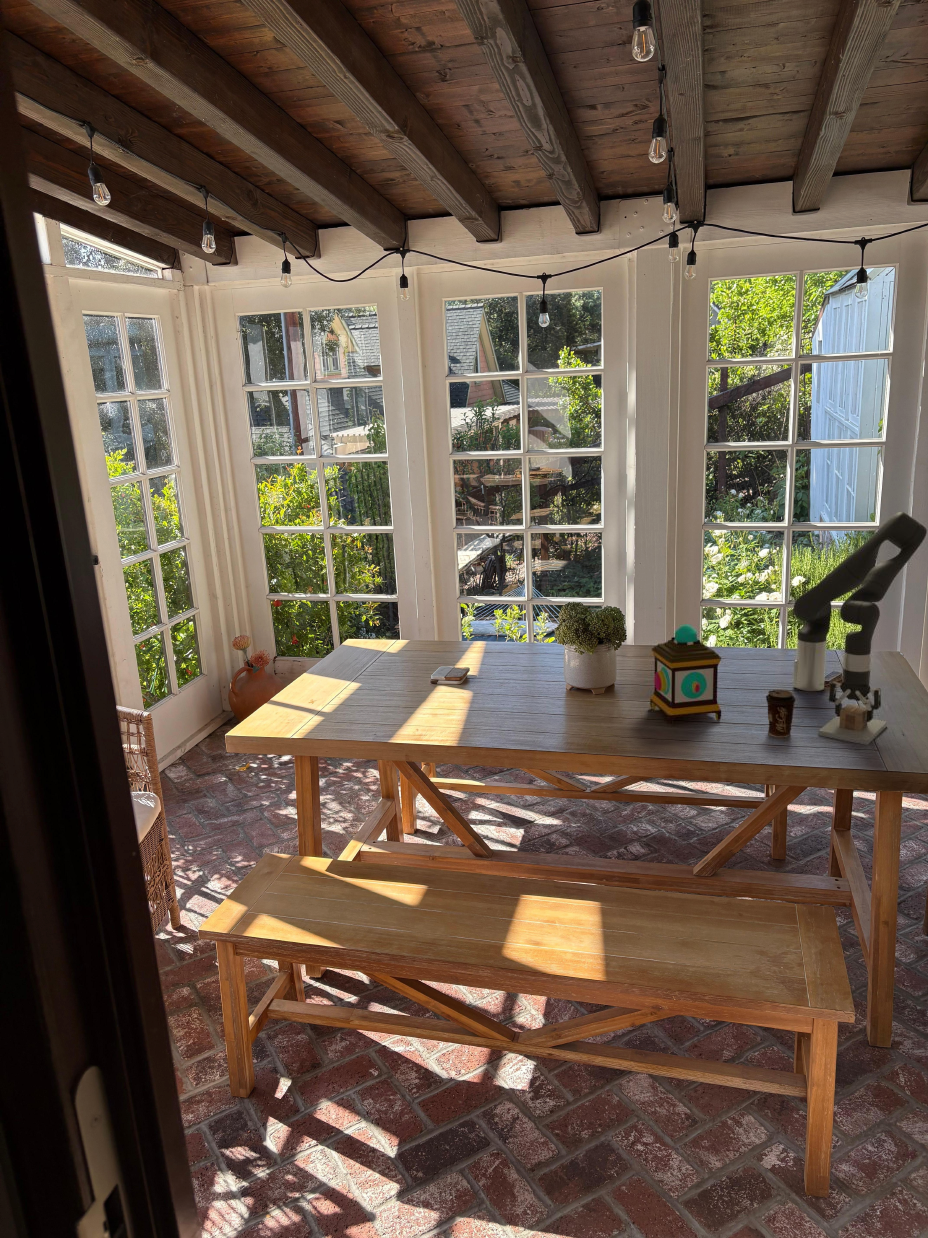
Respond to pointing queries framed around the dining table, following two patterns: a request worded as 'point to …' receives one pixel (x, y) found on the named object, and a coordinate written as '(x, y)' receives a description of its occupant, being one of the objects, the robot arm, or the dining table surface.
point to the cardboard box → (853, 717)
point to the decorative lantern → (685, 676)
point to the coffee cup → (780, 712)
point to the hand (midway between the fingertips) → (853, 718)
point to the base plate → (853, 731)
